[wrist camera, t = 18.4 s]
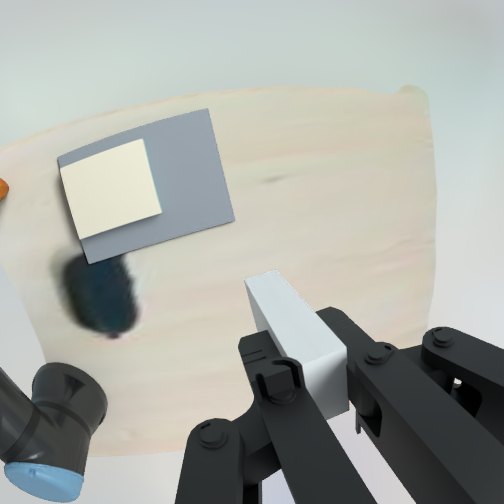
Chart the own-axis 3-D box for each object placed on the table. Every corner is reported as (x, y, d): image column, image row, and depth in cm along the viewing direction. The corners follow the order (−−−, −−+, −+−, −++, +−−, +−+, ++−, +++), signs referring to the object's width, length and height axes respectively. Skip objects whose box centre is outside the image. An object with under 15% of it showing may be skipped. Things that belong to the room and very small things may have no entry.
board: (162, 210, 39) (84, 236, 38) (144, 139, 36) (65, 168, 35) (161, 212, 38) (79, 239, 36) (141, 138, 34) (59, 168, 33)
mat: (90, 262, 39) (89, 264, 39) (59, 157, 34) (57, 157, 34) (234, 219, 43) (235, 220, 42) (207, 109, 38) (208, 108, 37)
